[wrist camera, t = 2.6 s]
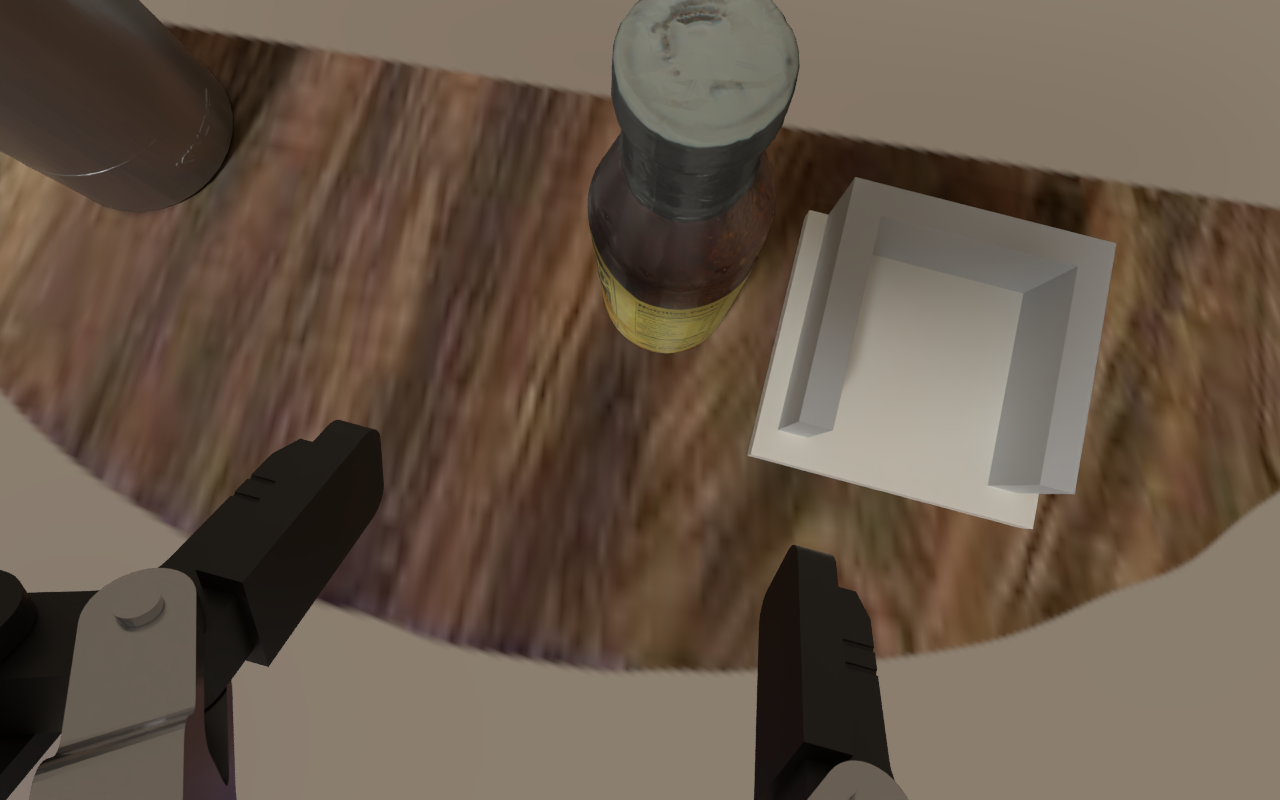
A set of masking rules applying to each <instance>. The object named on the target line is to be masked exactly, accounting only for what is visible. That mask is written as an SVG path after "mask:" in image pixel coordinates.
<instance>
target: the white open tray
mask: <svg viewBox="0 0 1280 800" xmlns="http://www.w3.org/2000/svg"><path fill="white" fill-rule="evenodd" d="M1115 248H1116V243H1113V242H1109V241H1105V240H1101V239H1097V238H1093V237H1089V236H1085V235H1081V234H1077V233H1074V232H1070V231H1066V230H1062V229H1058V228H1054V227H1050V226H1046V225H1042V224H1038V223H1034V222H1030V221H1026V220H1022V219H1018V218H1015V217H1011V216H1007V215H1003V214H999V213H995V212H991V211H987V210H983V209H979V208H975V207H971V206H967V205H963V204H959V203H956V202H952V201H948V200H944V199H940V198H936V197H932V196H928V195H924V194H920V193H916V192H912V191H908V190H904V189H900V188H896V187H893V186H889V185H885V184H881V183H877V182H873V181H869V180H865V179H861V178H857V177H855V178H854V180H853V181H852V183H851V184H850V185H849V187H848V188H847V190H846V191H845V192H844V194H843V195H842V197H841V198H840V199H839V201H838V202H837V204H836V205H835V206H834V208H833V209H832V211H831V212H830V213H829V215H827V214H823V213H819V212H815V211H812V210H809V212H808V213H807V215H806V216H805V218H804V222H803V226H802V230H801V234H800V238H799V242H798V247H797V251H796V255H795V259H794V263H793V267H792V271H791V276H790V280H789V284H788V288H787V292H786V296H785V300H784V305H783V309H782V313H781V317H780V321H779V325H778V329H777V334H776V338H775V342H774V346H773V350H772V354H771V358H770V363H769V367H768V371H767V375H766V379H765V383H764V388H763V392H762V396H761V400H760V404H759V408H758V412H757V417H756V421H755V425H754V429H753V433H752V437H751V441H750V446H749V450H748V454H747V455H748V456H751V457H755V458H759V459H763V460H766V461H770V462H774V463H778V464H781V465H785V466H789V467H793V468H796V469H800V470H804V471H808V472H812V473H815V474H819V475H823V476H827V477H830V478H834V479H838V480H842V481H845V482H849V483H853V484H857V485H860V486H864V487H868V488H872V489H875V490H879V491H883V492H887V493H891V494H894V495H898V496H902V497H906V498H909V499H913V500H917V501H921V502H924V503H928V504H932V505H936V506H939V507H943V508H947V509H951V510H954V511H958V512H962V513H966V514H969V515H973V516H977V517H981V518H985V519H988V520H992V521H996V522H1000V523H1003V524H1007V525H1011V526H1015V527H1018V528H1025V529H1033V525H1034V519H1035V513H1036V508H1037V502H1038V496H1039V494H1075V488H1076V482H1077V476H1078V470H1079V464H1080V458H1081V452H1082V446H1083V440H1084V434H1085V428H1086V422H1087V416H1088V410H1089V404H1090V398H1091V392H1092V386H1093V380H1094V374H1095V368H1096V362H1097V356H1098V350H1099V344H1100V338H1101V332H1102V326H1103V320H1104V314H1105V308H1106V302H1107V296H1108V290H1109V284H1110V278H1111V272H1112V266H1113V260H1114V254H1115Z"/></svg>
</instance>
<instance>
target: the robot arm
mask: <svg viewBox="0 0 1280 800" xmlns="http://www.w3.org/2000/svg"><path fill="white" fill-rule="evenodd" d="M232 134H233V115H232V110H231V105H230V101H229V99H228V97H227V94H226V92H225V90H224V88H223V86H222V85H221V84H220V82H219V81H218V80H217V79H216V77H215V76H214V75H213V74H212V73H211V72H210V71H209V70H208V69H207V68H206V67H205V66H204V65H203V64H202V63H201V62H200V61H199V60H198V59H197V58H196V57H195V56H194V55H193V54H192V53H191V52H190V51H189V50H188V49H187V48H186V47H185V46H184V45H183V44H182V43H181V42H180V41H179V40H178V39H177V38H176V37H175V36H174V35H173V34H172V33H171V32H170V31H169V30H168V29H167V28H166V27H165V26H164V25H163V24H162V23H161V22H160V21H159V20H158V19H157V18H156V17H155V16H154V15H153V14H152V13H151V12H150V11H149V10H148V9H147V8H146V7H145V6H144V5H143V4H142V3H141V2H140V1H139V0H0V151H1V152H3V153H5V154H7V155H9V156H11V157H13V158H14V159H16V160H18V161H20V162H22V163H23V164H25V165H27V166H29V167H30V168H32V169H34V170H36V171H38V172H40V173H42V174H44V175H46V176H48V177H49V178H51V179H53V180H55V181H57V182H59V183H61V184H63V185H65V186H67V187H68V188H70V189H72V190H74V191H76V192H78V193H80V194H82V195H84V196H86V197H87V198H89V199H91V200H93V201H95V202H97V203H99V204H101V205H103V206H105V207H108V208H112V209H116V210H119V211H128V212H146V211H153V210H160V209H163V208H166V207H169V206H171V205H174V204H177V203H179V202H181V201H183V200H184V199H186V198H188V197H190V196H192V195H193V194H195V193H196V192H197V191H198V190H199V189H201V188H202V187H203V186H204V185H205V184H206V183H208V182H209V180H210V179H211V178H212V177H213V175H214V174H215V173H216V172H217V170H218V169H219V168H220V166H221V164H222V162H223V160H224V158H225V156H226V154H227V153H228V150H229V146H230V142H231V138H232ZM383 489H384V481H383V468H382V454H381V441H380V434H379V432H378V431H377V430H374V429H371V428H367V427H363V426H360V425H356V424H352V423H349V422H345V421H341V420H335V421H333V422H332V423H330V424H329V425H328V426H327V427H326V428H325V429H324V430H323V432H322V433H321V434H320V435H319V436H318V437H317V438H316V439H315V440H314V441H313V442H311V441H307V440H303V439H299V440H297V441H295V442H293V443H291V444H289V445H288V446H286V447H284V448H282V449H280V450H278V451H276V452H274V453H273V454H271V455H270V456H269V457H268V458H267V459H266V460H265V461H264V462H263V463H262V464H261V465H260V467H259V468H258V469H257V470H256V471H255V472H254V473H253V474H252V476H251V478H250V479H247V480H246V481H245V482H244V483H243V484H242V485H241V486H240V487H239V488H238V489H237V490H236V491H235V494H234V496H230V497H229V498H228V499H227V500H226V501H225V502H224V503H223V504H222V505H221V506H220V507H219V508H218V509H217V510H216V511H215V512H214V513H213V514H212V515H211V516H210V517H209V518H208V519H207V520H206V521H205V522H204V523H203V524H202V526H201V527H200V528H199V529H198V530H197V531H196V532H195V533H194V534H193V535H192V536H191V537H190V538H189V539H188V540H187V541H186V542H185V543H184V544H183V545H182V546H181V547H180V548H179V549H178V550H177V551H176V552H175V553H174V554H173V555H172V556H171V557H170V558H169V559H168V560H167V561H166V562H165V563H163V564H162V565H161V566H160V567H158V568H151V569H145V570H140V571H137V572H133V573H130V574H128V575H125V576H122V577H120V578H118V579H116V580H114V581H113V582H111V583H109V584H108V585H106V586H105V587H103V588H102V589H101V590H98V591H80V592H79V591H78V592H39V593H38V592H37V593H27V592H26V590H25V589H24V587H23V586H22V584H21V583H20V581H19V580H18V579H17V578H16V577H15V576H14V575H12V574H10V573H8V572H5V571H2V570H0V800H6V799H7V798H8V797H9V796H10V794H11V793H12V792H13V791H14V790H15V788H16V787H17V786H18V785H19V784H20V782H21V781H22V780H23V779H24V778H25V776H26V775H27V774H28V773H29V771H30V770H31V769H32V768H33V767H34V765H35V764H36V763H37V762H38V760H39V759H40V758H41V757H42V756H43V754H44V753H45V752H46V751H47V750H48V749H49V747H50V746H51V745H52V744H53V742H54V741H55V740H56V739H57V738H58V736H59V735H60V734H61V733H62V734H61V740H60V745H59V749H58V751H57V753H56V755H55V756H54V757H51V758H48V759H46V760H44V761H43V762H42V763H41V764H40V766H39V767H38V769H37V771H36V773H35V776H34V779H33V782H32V786H31V791H30V797H29V800H237V799H236V785H235V757H234V726H233V696H232V682H231V679H232V678H233V677H234V675H235V674H236V673H237V671H238V670H239V668H240V667H241V666H242V664H243V663H244V662H245V660H246V661H250V662H253V663H257V664H260V665H264V666H268V667H269V665H270V664H271V662H272V661H273V660H274V658H275V657H276V655H277V654H278V652H279V651H280V650H281V648H282V647H283V645H284V644H285V642H286V641H287V640H288V638H289V637H290V635H291V634H292V632H293V631H294V629H295V628H296V627H297V625H298V624H299V622H300V621H301V620H302V618H303V617H304V615H305V613H306V612H307V611H308V610H309V608H310V607H311V605H312V604H313V603H314V601H315V600H316V598H317V597H318V595H319V594H320V593H321V591H322V590H323V588H324V587H325V585H326V584H327V583H328V581H329V580H330V578H331V577H332V575H333V574H334V573H335V571H336V570H337V568H338V567H339V565H340V564H341V563H342V561H343V560H344V558H345V557H346V555H347V554H348V553H349V551H350V550H351V548H352V547H353V545H354V544H355V543H356V541H357V540H358V538H359V537H360V535H361V534H362V533H363V531H364V530H365V528H366V527H367V525H368V524H369V523H370V521H371V520H372V518H373V517H374V515H375V513H376V512H377V509H378V507H379V505H380V502H381V499H382V495H383ZM873 648H874V643H873V636H872V628H871V621H870V618H869V616H868V614H867V612H866V610H865V608H864V606H863V604H862V602H861V600H860V599H859V597H858V595H857V593H856V592H855V591H852V590H848V589H844V588H841V587H838V579H837V568H836V561H835V558H834V556H833V555H830V554H826V553H822V552H819V551H815V550H811V549H808V548H804V547H800V546H797V545H792V546H791V547H790V549H789V550H788V552H787V554H786V556H785V558H784V560H783V561H782V563H781V565H780V567H779V569H778V571H777V573H776V575H775V577H774V579H773V580H772V582H771V584H770V586H769V588H768V590H767V592H766V594H765V597H764V600H763V604H762V608H761V613H760V620H759V646H758V681H757V683H758V684H757V716H756V750H755V752H756V753H755V787H754V800H908V798H907V796H906V795H905V793H904V792H903V790H902V789H901V788H900V786H899V785H898V784H897V783H896V782H895V780H894V777H893V774H892V772H891V767H890V762H889V755H888V747H887V740H886V733H885V725H884V719H883V710H882V703H881V696H880V688H879V681H878V676H876V671H877V665H876V658H875V653H874V652H873Z"/></svg>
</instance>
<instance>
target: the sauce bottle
mask: <svg viewBox="0 0 1280 800" xmlns="http://www.w3.org/2000/svg"><path fill="white" fill-rule="evenodd" d="M798 71H799V51H798V46H797V42H796V38H795V35H794V33H793V30H792V28H791V27H790V26H789V24H788V23H787V22H786V19H785V17H784V15H783V13H782V12H781V11H780V10H779V9H778V7H777V6H776V5H775V3H774V2H773V1H772V0H640V1H638V2H637V3H636V4H635V5H634V6H633V8H632V9H631V11H630V12H629V14H628V15H627V17H625V19H624V20H623V21H622V22H621V24H620V26H619V29H618V32H617V34H616V37H615V41H614V45H613V58H612V88H611V90H612V91H611V96H612V101H613V105H614V109H615V113H616V116H617V120H618V123H619V125H620V127H621V130H622V131H621V133H620V135H619V136H618V137H617V139H616V140H615V142H614V143H613V145H612V146H611V148H610V149H609V150H608V152H607V153H606V155H605V156H604V157H603V159H602V160H601V162H600V164H599V165H598V167H597V168H596V170H595V173H594V175H593V178H592V181H591V185H590V188H589V194H588V219H589V226H590V233H591V237H592V242H593V246H594V250H595V255H596V260H597V265H598V273H599V277H600V280H601V286H602V291H603V296H604V301H605V305H606V308H607V311H608V314H609V316H610V318H611V320H612V322H613V323H614V325H615V326H616V328H617V329H618V330H619V331H620V333H621V334H622V335H623V336H624V337H626V338H627V339H628V340H630V341H631V342H633V343H634V344H635V345H637V346H638V347H640V348H641V349H643V350H646V351H650V352H658V353H674V352H679V351H687V350H690V349H693V348H695V347H697V346H698V345H699V344H700V343H701V342H703V341H704V340H706V339H707V338H708V337H709V336H711V335H712V333H713V332H714V331H715V330H716V329H717V328H718V326H719V325H720V324H721V322H722V320H723V319H724V317H725V315H726V313H727V312H728V310H729V309H730V307H731V305H732V304H733V302H734V300H735V298H736V297H737V295H738V293H739V292H740V290H741V288H742V286H743V285H744V283H745V281H746V280H747V278H748V276H749V275H750V273H751V271H752V269H753V267H754V265H755V264H756V262H757V259H758V257H757V255H758V253H759V251H760V250H761V248H762V247H763V245H764V243H765V241H766V238H767V237H768V234H769V232H770V230H771V225H772V222H773V220H774V216H775V205H776V201H775V196H776V192H775V188H776V185H775V180H774V175H773V170H772V166H771V164H770V163H769V161H768V158H767V154H766V153H765V151H764V150H765V149H766V148H767V147H768V146H769V145H770V143H771V142H772V141H773V140H774V139H775V137H776V135H777V133H778V131H779V129H780V128H781V126H782V125H783V122H784V118H785V115H786V113H787V111H788V108H789V105H790V102H791V99H792V97H793V94H794V91H795V86H796V82H797V76H798Z"/></svg>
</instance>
